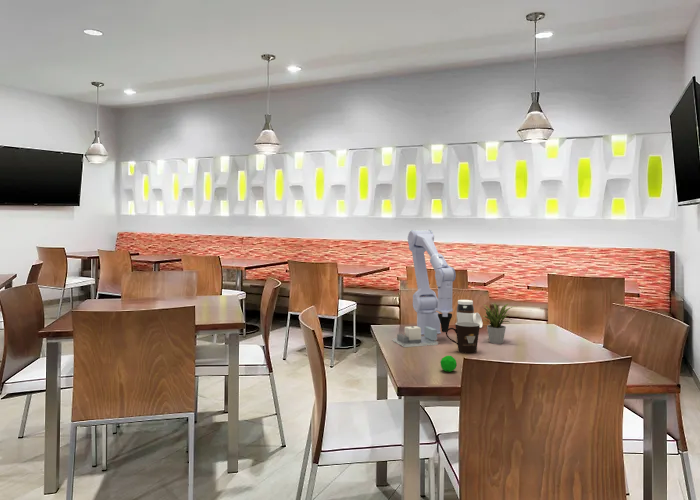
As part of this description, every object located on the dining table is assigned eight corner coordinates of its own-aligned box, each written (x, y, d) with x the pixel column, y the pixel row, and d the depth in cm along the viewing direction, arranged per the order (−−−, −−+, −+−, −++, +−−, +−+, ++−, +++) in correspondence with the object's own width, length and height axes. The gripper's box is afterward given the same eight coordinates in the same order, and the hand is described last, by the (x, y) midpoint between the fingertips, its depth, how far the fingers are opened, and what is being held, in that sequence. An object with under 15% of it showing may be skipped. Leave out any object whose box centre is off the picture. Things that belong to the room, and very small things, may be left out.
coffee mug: (480, 349, 190) (480, 322, 190) (478, 355, 182) (478, 327, 182) (448, 347, 194) (448, 320, 193) (445, 352, 186) (445, 325, 185)
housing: (416, 338, 204) (416, 325, 204) (420, 341, 200) (421, 327, 200) (404, 339, 203) (404, 326, 203) (409, 341, 199) (409, 328, 199)
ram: (429, 336, 207) (429, 326, 207) (436, 339, 201) (436, 329, 201) (424, 336, 207) (424, 326, 207) (432, 340, 200) (432, 330, 200)
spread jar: (455, 323, 241) (456, 299, 241) (480, 324, 240) (480, 299, 239) (457, 328, 229) (457, 302, 229) (483, 329, 228) (484, 303, 227)
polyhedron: (439, 372, 160) (439, 357, 160) (441, 368, 165) (442, 353, 165) (455, 374, 159) (455, 358, 158) (457, 370, 163) (457, 355, 163)
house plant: (520, 340, 206) (521, 299, 205) (516, 347, 193) (516, 304, 193) (484, 337, 212) (484, 297, 211) (477, 344, 199) (478, 301, 199)
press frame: (424, 338, 210) (424, 331, 210) (438, 344, 198) (438, 337, 198) (392, 340, 206) (392, 333, 206) (404, 347, 194) (404, 339, 194)
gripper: (435, 295, 213) (434, 328, 213) (434, 300, 198) (434, 335, 199) (452, 295, 212) (452, 328, 212) (453, 300, 197) (453, 336, 198)
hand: (444, 332), depth 206 cm, fingers closed
